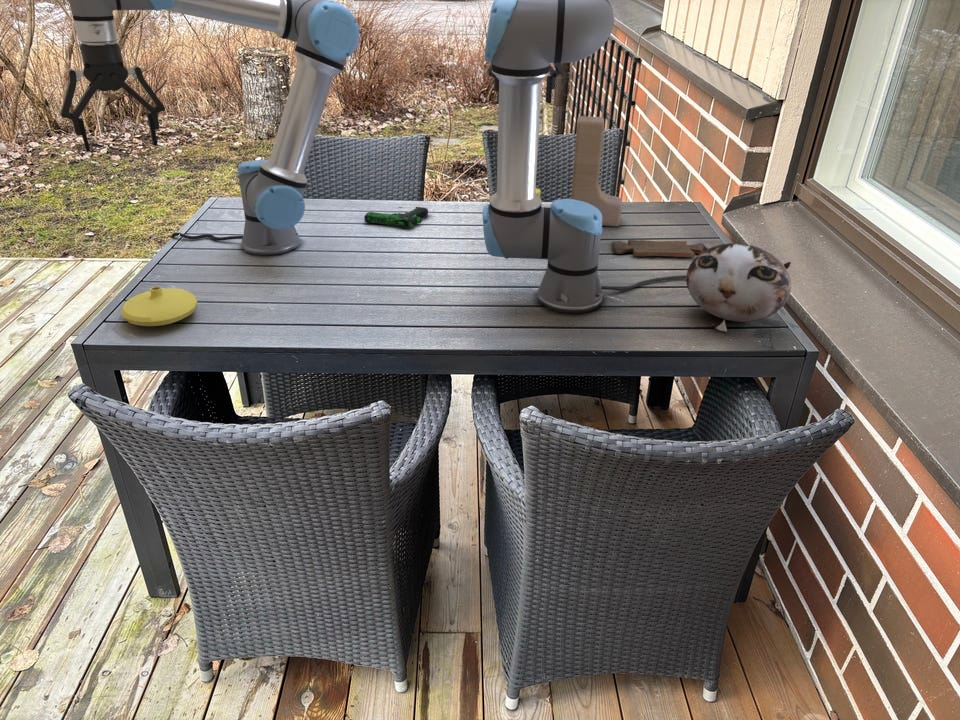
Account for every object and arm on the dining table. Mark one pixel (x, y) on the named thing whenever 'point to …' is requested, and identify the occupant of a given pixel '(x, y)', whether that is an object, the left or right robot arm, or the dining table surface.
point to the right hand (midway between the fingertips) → (524, 103)
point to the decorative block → (592, 170)
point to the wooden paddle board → (657, 248)
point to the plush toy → (738, 282)
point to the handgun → (398, 218)
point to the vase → (159, 306)
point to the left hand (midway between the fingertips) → (122, 147)
